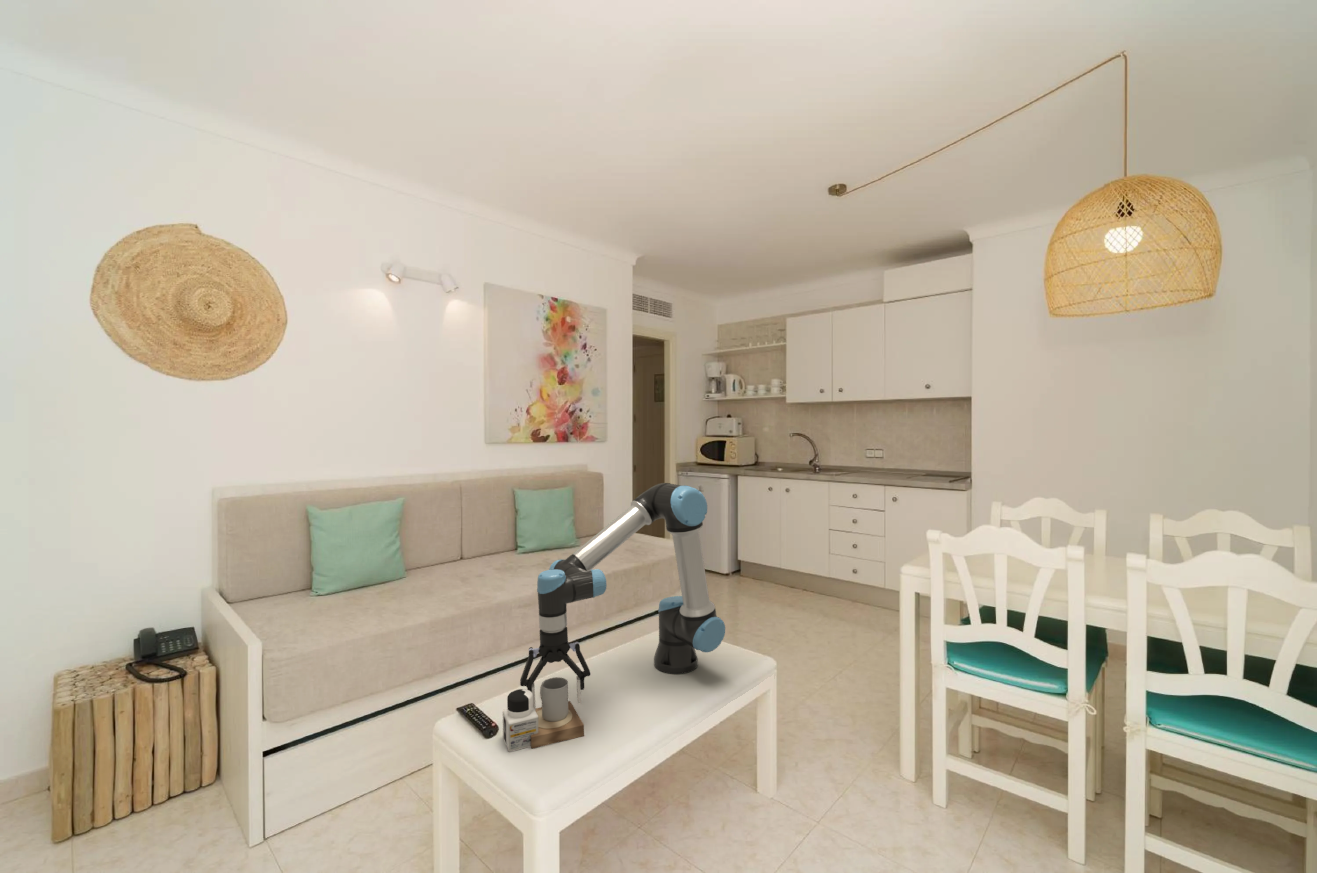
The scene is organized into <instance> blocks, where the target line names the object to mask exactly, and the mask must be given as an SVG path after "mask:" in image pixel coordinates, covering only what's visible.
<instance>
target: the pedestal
mask: <svg viewBox="0 0 1317 873" xmlns="http://www.w3.org/2000/svg"><path fill="white" fill-rule="evenodd" d="M536 713H537V715H538V733H537V734H533V735H531V746H530V749H533V750H534V749H537V748H540V747H545V746H548V745H553V744H557V743H560V742H565V741H569V740H573V739H577V738H581V737H584V736H585V724H584V722H583V721H582V719H581V718H580V716H579V714H578V712H577V710H576V709H575V707H574V705H573V703H572V702H571V701H570V700H568V715H567V717H566V718H564V719H563V720H560V721H556V722H550V721H546V720H545V719H544V718H543V717H542V706H541V707H536Z"/></svg>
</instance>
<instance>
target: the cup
mask: <svg viewBox="0 0 1317 873" xmlns="http://www.w3.org/2000/svg"><path fill="white" fill-rule="evenodd" d="M539 694H540V695H539V696H540V701H541V707H542V717H543V718H544V719H545V720H546V721H550V722H556V721H560V720H563V719H564V718H566V717H567V715H568V701H569V680H568V679H566V678H564V677H559V676H558V677H555V676H554V677H550V678H549V677H548V678H547V679H545V680H543V681H542V682H541V685H540V689H539Z"/></svg>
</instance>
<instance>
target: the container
mask: <svg viewBox="0 0 1317 873" xmlns="http://www.w3.org/2000/svg"><path fill="white" fill-rule="evenodd" d="M506 700H507V707H506V708H505V709H503V710H502V738H503V741H504V744H505V746H506V747H507V748H506V749H507V750H508V752H509V753H512V752H515V751H518V750H521V749H523V750H524V749H525V748H527V749H528V748H531V735H533V734H537V733H538V715H537V713H536V711H535V710H534V708H533V693H532V692H531V691H530V690H527V688H526V689H525V688H518V689H515V690H512V691H511V692H510V693H509V694H508V695H507V698H506Z"/></svg>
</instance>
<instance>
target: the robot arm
mask: <svg viewBox="0 0 1317 873" xmlns="http://www.w3.org/2000/svg"><path fill="white" fill-rule="evenodd" d="M707 513H708V502H707V499H706V496H705V495H704V494H703V493H702V492H701V491H700V490H699V489H698V488H695V487H693V486H689V485H685V484H684V485H680V484H674V483H671V482H661V483H657V484H655V485H653V486H651V487H650V488H648V489H647V490H645V491H643V492H642V493H641V494H639V495H638V496H637V497H636V498H635V499H633V500H632V501H631V502H630V506H629V507H628V508H627V509H625V511H623V512H622V513H621V514H620V515H619V516H617V517H616V518H615V519H614V520H612V521H611V522H610V523H608V524H607V525H606V526H605V527H604V528H602V529H601V530H600V531H599V532H598V533H597V534H595V535H594V536H593V537H591V538H590V539H589V540H588V541H587V542H585V543H584V544H582V546H580V547H579V548H578V549H577V550H575V551H574V552H573V553H571V555H569V556H568V557H567V558H565V559H557V560H554V561H553V562H552V563H551V565H550V567H549V568H548V570H543V571H541V572H540V573H539V574H538V576H537V584H536V585H537V587H536V588H537V589H536V593H537V601H538V602H537V604H538V605H537V606H538V628H539V647H534V648H533V647H532V646H531V647H529V648H528V658H527V659H526V663H525V666H524V668H523V671H522V674H521V676H520V681H519V685H520V687H526V690H530V691H531V692H532V693H533V708H534V710H535V711H536V708H537V707H536V689H535V687H536V686H535V682H536V680H537V678H538V676H539V675H540V674H541V672H542V671H543V669H544V668H545V666H546V665H547V664H551V663H555V662H557V663H560V662H562V661H563V662H564V663H565V664H566V665H567V666H568V667H569V668H570V670H572V671H573V673H574V674H575V675H576V696H577V697H576V698H577V704H578V705H580V704H582V694H581V692H582V691H584V690H585V678H587V677H590V676H591V670H590V668H589V666H588V664H587V662H586V660H585V658H584V656H583V653H582V651H581V646H580V642H579V640H576V641H574V642H571V643H570V642H569V638H568V637H569V636H568V627H567V626H568V613H567V604H572V603H575V602H580V601H584V600H588V599H592V598H593V599H594V598H596V597H600V596H602V595H604V594H605V592H606V591H607V587H608V586H607V578H606V575H605V573H604V572H603V570H601V569H599V568H596V566H598V565H599V564H600V563H601V562H603V560H605V559H606V558H607V557H608V556H610V555H611V554H612V553H613V552H614V551H615V550H617V549H618V548H619V547H620V546H621V545H622V544H623V545H624V543H625V542H626V541H627V540H629V539H630V538H631V537H632V536H634V535H635V533H637V532H638V531H640V529H641V528H643V527H644V526H650V525H651V524H653V523H654V522H655V521H656V520H660V519H663V520H664V522H665V527H666V528H665V529H666V531H667V533H669V534H671V535H672V542H673V548H674V554H675V560H676V568H677V572H678V581H679V587H680V591H681V592H680V593H681V595H675V596H669V597H665V598H663V599H661V600H660V601H659V604H658V611H657V612H658V644H657V647H656V650H655V653H654V657H653V665H654V667H655V668H656V669H657V670H658V671H660V672H663V673H667V674H674V675H677V674H679V675H680V674H685V673H687V674H688V673H689V672H692V671H694V670H695V669H696V668H697V667H698V666H699V664H698V663H699V662H698V655H697V652H696V651H699V652H702V653H711V652H713V651H715V650H716V649H718V647H719V646H720V645H721V643H722V641H723V640H724V639H725V638H724V637H725V635H726V625H725V622H724V620H722V619H721V617H718V616H717V611H716V610H717V609H716V605H715V603H714V602H713V601H711V600H710V596H709V589H708V582H707V575H706V570H705V562H704V557H703V549H702V542H701V536H700V530H701V529H702V527H703V526H704V525H703V522H704V520H705V518H706V515H707ZM594 568H596V569H594ZM570 650H572V652H574V653H575V654H576V655H575V656H577V659H578V661H579V664H580V665H581V667H582V669H583V670H582V669H581V668H580V667H579V666H578V665H577V664H576V663H575V661H574V660H573V659H572V658H571V657H570V655H569V654H568V652H569V651H570ZM538 654H539V655H540V656H541V657H540V659H539V662H538V663H537V665H536V666H535V668H534V669H533V670H532V672H531V673H530V671H531V668H532V664H533V662H534V658H536V657H537V655H538ZM529 674H530V675H529Z"/></svg>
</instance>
